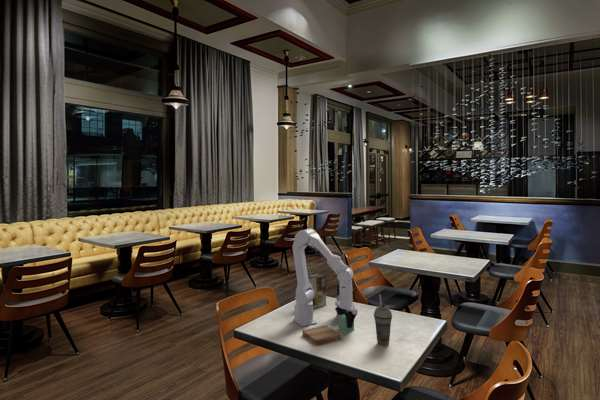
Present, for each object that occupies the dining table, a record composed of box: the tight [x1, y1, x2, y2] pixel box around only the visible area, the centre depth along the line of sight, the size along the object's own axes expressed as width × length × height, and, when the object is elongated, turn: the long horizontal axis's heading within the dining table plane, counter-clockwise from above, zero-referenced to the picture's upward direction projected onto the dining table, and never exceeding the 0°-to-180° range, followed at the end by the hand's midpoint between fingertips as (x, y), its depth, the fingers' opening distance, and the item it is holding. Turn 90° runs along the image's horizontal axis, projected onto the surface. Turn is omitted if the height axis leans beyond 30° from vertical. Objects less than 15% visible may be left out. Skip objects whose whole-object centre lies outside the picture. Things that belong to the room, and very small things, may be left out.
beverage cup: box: [373, 293, 393, 347], centre depth 146 cm, size 7×7×20 cm
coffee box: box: [308, 273, 327, 309], centre depth 195 cm, size 9×6×16 cm
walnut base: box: [302, 324, 343, 346], centre depth 154 cm, size 12×12×2 cm
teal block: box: [337, 314, 355, 333], centre depth 162 cm, size 5×5×6 cm
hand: (346, 325), depth 162 cm, fingers closed on teal block, 5 cm apart
